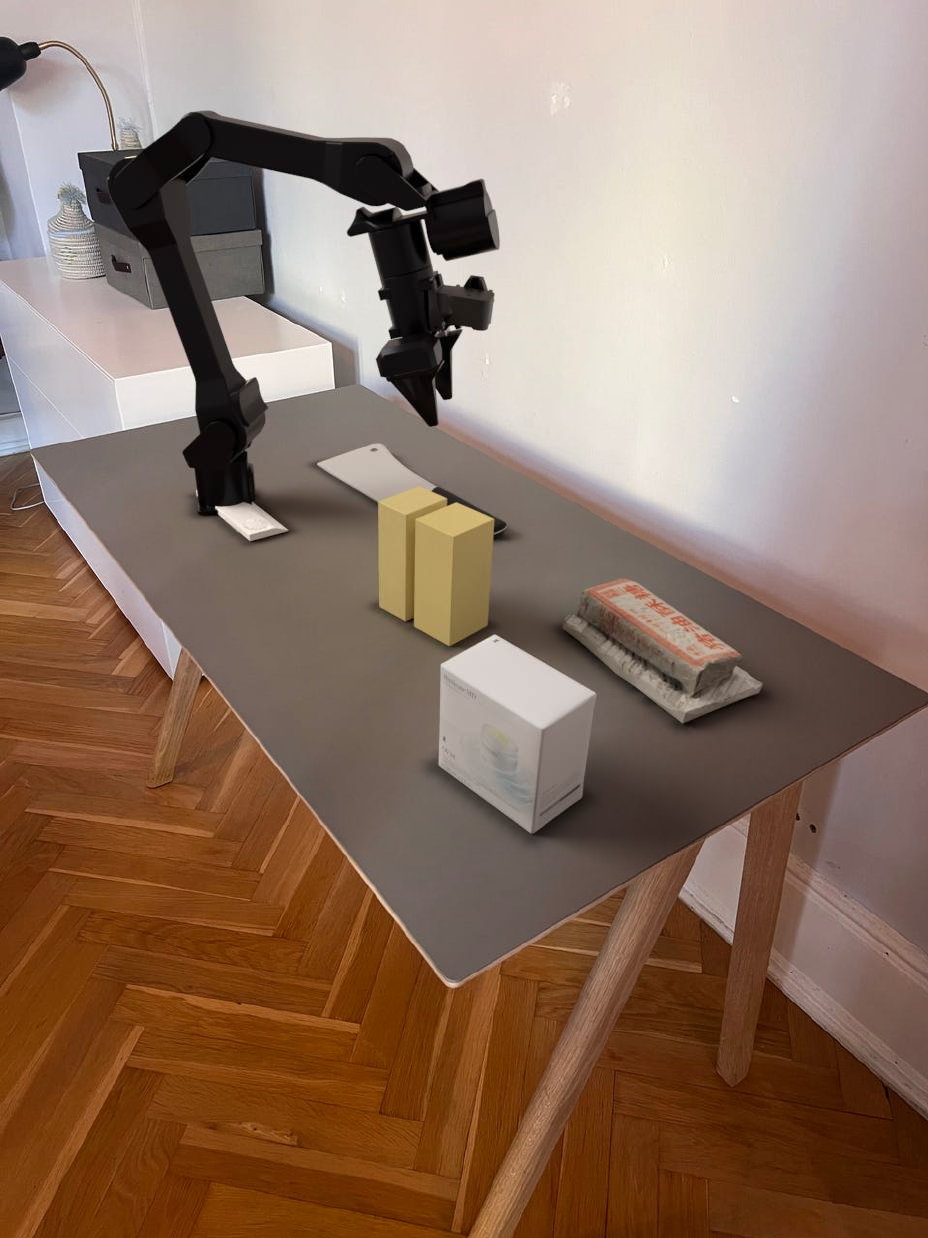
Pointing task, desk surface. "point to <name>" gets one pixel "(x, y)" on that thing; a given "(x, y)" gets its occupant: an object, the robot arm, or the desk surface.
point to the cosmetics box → (514, 731)
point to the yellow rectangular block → (401, 547)
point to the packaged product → (659, 650)
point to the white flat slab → (250, 520)
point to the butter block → (452, 572)
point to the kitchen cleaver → (388, 478)
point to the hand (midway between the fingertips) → (441, 411)
